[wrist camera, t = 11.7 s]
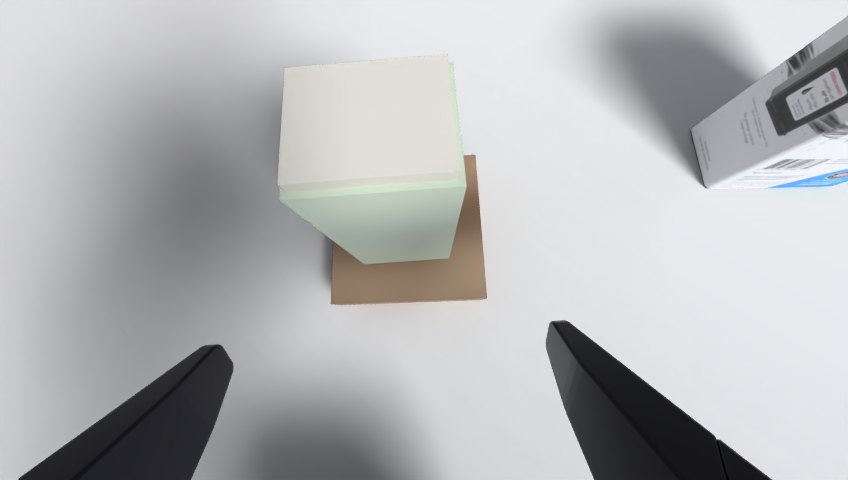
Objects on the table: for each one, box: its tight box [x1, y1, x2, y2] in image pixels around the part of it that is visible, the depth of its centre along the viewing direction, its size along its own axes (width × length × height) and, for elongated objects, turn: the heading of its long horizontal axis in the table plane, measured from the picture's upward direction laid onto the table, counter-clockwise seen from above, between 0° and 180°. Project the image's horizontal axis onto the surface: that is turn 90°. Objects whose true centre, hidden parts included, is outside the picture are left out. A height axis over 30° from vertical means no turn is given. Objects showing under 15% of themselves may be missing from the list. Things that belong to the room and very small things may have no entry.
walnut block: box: [331, 155, 487, 305], centre depth 20 cm, size 9×9×3 cm
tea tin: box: [277, 54, 467, 264], centre depth 13 cm, size 4×5×10 cm
